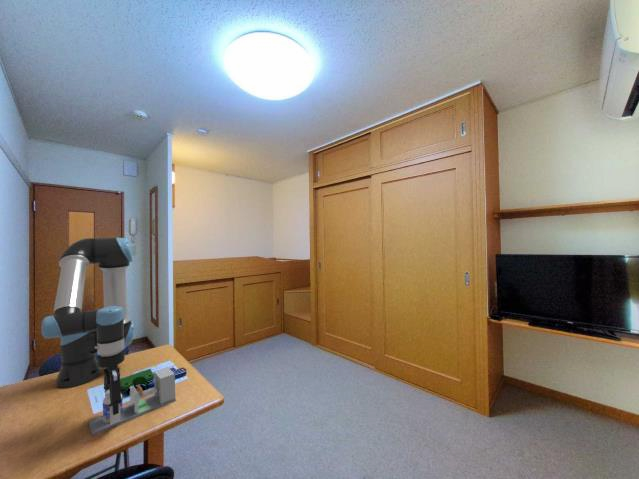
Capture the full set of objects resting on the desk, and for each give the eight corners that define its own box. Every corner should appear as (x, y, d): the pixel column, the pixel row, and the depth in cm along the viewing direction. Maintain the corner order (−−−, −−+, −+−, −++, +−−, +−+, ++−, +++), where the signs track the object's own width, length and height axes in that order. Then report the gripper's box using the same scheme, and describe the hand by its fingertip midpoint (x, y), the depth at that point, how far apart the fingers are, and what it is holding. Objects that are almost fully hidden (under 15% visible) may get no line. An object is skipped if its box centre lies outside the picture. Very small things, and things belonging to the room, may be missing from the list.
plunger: (130, 405, 100) (129, 386, 100) (171, 389, 110) (170, 372, 110) (134, 413, 95) (134, 393, 95) (177, 395, 105) (176, 377, 105)
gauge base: (88, 423, 92) (87, 393, 92) (168, 391, 110) (167, 366, 110) (92, 436, 86) (91, 404, 86) (175, 400, 104) (175, 374, 104)
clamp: (128, 404, 109) (118, 390, 105) (124, 395, 113) (114, 382, 109) (158, 383, 117) (150, 369, 113) (154, 375, 121) (146, 361, 116)
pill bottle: (107, 425, 90) (106, 396, 90) (100, 419, 93) (99, 391, 92) (125, 416, 94) (124, 388, 94) (118, 410, 97) (118, 384, 97)
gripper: (92, 347, 98) (94, 408, 98) (102, 365, 83) (104, 437, 83) (118, 341, 103) (119, 399, 103) (131, 357, 89) (132, 425, 89)
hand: (112, 416), depth 93 cm, fingers open, 8 cm apart
